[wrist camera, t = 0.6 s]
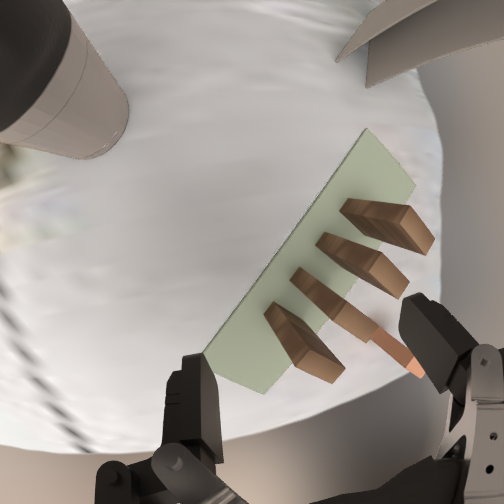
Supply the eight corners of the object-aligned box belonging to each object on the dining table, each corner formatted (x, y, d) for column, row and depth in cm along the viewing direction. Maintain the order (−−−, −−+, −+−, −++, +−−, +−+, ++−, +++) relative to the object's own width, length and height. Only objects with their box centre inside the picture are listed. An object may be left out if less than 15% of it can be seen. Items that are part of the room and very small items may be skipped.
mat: (263, 392, 36) (264, 394, 36) (195, 361, 33) (195, 363, 33) (413, 185, 34) (416, 185, 34) (365, 128, 31) (367, 128, 31)
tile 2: (293, 332, 34) (332, 384, 24) (263, 314, 33) (295, 366, 22) (303, 320, 34) (345, 368, 24) (273, 300, 33) (310, 349, 22)
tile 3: (318, 300, 34) (366, 343, 24) (289, 280, 33) (332, 321, 22) (328, 287, 34) (379, 326, 24) (299, 266, 33) (347, 301, 22)
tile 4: (342, 268, 34) (398, 299, 23) (314, 245, 32) (368, 271, 22) (351, 255, 34) (409, 281, 23) (324, 231, 32) (381, 252, 22)
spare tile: (376, 341, 39) (420, 378, 28) (358, 328, 37) (405, 368, 27) (384, 330, 39) (430, 366, 28) (367, 317, 37) (415, 354, 27)
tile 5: (364, 235, 34) (425, 255, 23) (338, 211, 32) (399, 223, 22) (372, 223, 34) (435, 238, 23) (347, 197, 32) (410, 205, 22)
